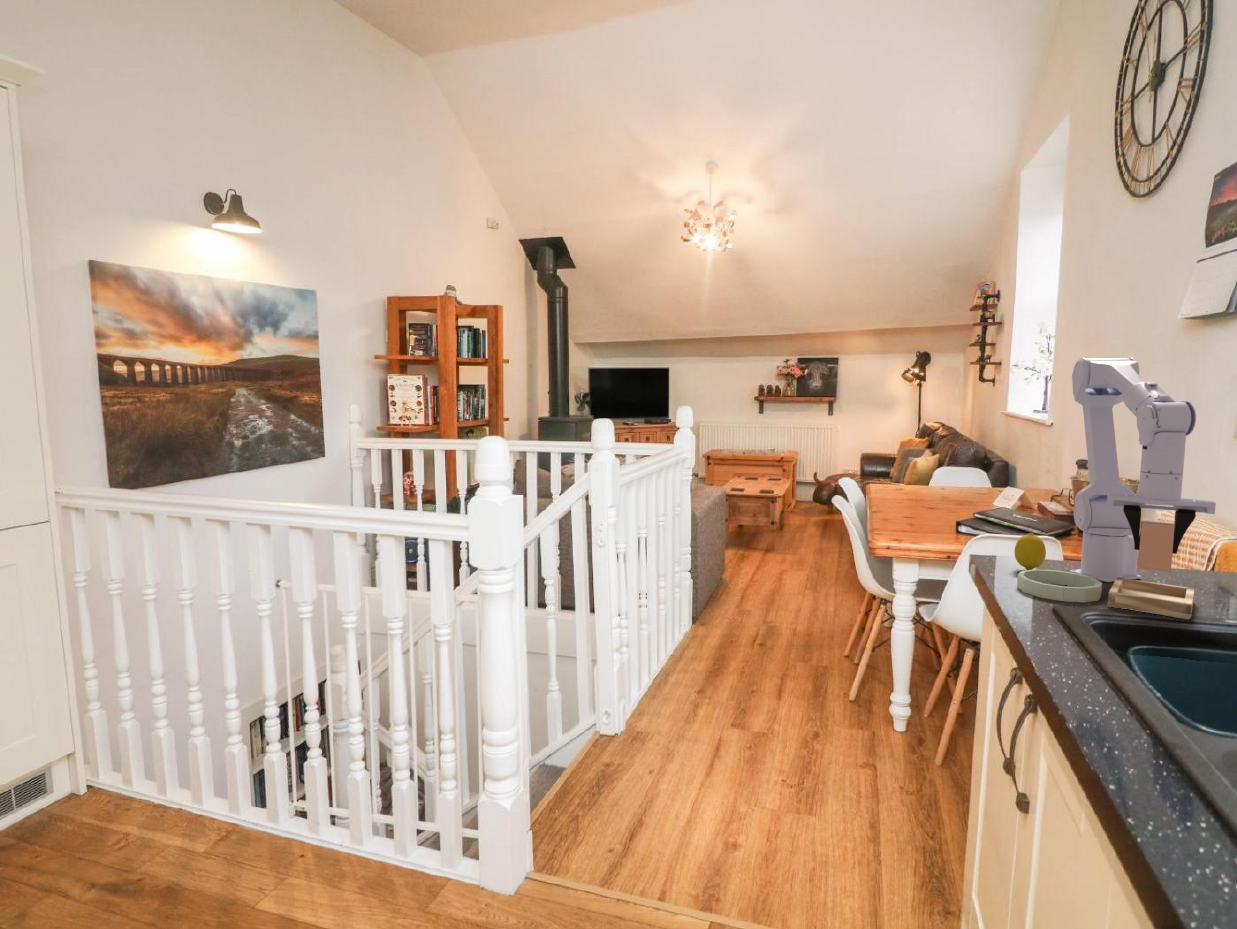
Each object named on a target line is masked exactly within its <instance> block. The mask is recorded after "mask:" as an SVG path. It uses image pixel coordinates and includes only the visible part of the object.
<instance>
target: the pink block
mask: <svg viewBox="0 0 1237 929" xmlns="http://www.w3.org/2000/svg"><path fill="white" fill-rule="evenodd" d="M1174 522H1175V521H1172V520H1161V519H1150V518H1149V519H1147V518H1141V521H1140V548H1139V550H1138V561H1137V569H1139V570H1150V571H1158V572H1167V573H1171V572H1172V560H1173V554H1172V552H1173V540H1174V528H1175V525H1174Z"/></svg>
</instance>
